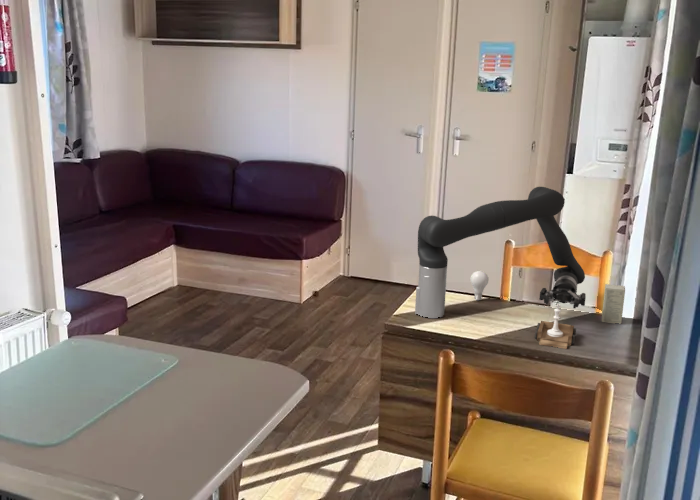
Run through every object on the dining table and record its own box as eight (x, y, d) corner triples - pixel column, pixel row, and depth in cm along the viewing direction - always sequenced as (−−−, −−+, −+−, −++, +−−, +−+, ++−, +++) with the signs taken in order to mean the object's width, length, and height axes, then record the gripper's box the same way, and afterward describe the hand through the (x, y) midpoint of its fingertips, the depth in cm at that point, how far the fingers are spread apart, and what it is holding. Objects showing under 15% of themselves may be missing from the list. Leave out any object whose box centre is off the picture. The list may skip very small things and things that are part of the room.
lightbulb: (488, 303, 242) (490, 273, 239) (470, 303, 242) (472, 273, 239) (485, 297, 248) (487, 268, 245) (467, 297, 248) (469, 268, 245)
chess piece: (565, 337, 210) (568, 306, 207) (548, 336, 210) (552, 306, 207) (560, 331, 214) (564, 301, 212) (545, 331, 215) (548, 300, 212)
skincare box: (620, 320, 229) (625, 285, 225) (621, 324, 225) (626, 289, 221) (600, 317, 231) (605, 283, 227) (601, 322, 226) (605, 287, 223)
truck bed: (533, 343, 207) (533, 334, 206) (537, 329, 219) (538, 320, 218) (572, 349, 203) (573, 340, 202) (575, 334, 215) (576, 325, 214)
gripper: (544, 275, 233) (538, 289, 219) (588, 281, 228) (585, 295, 214) (542, 296, 235) (536, 311, 221) (585, 302, 230) (582, 317, 216)
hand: (560, 303), depth 217 cm, fingers open, 8 cm apart
